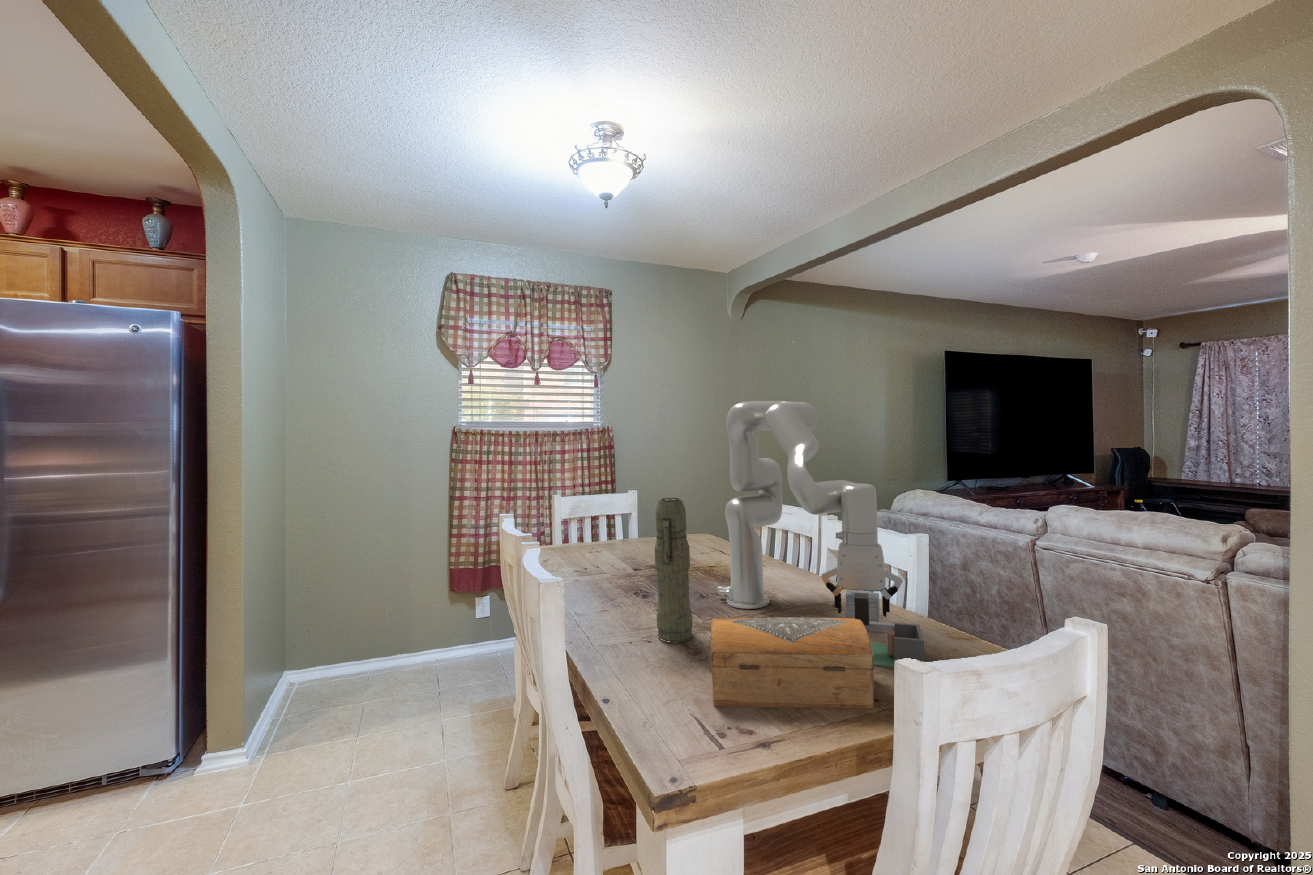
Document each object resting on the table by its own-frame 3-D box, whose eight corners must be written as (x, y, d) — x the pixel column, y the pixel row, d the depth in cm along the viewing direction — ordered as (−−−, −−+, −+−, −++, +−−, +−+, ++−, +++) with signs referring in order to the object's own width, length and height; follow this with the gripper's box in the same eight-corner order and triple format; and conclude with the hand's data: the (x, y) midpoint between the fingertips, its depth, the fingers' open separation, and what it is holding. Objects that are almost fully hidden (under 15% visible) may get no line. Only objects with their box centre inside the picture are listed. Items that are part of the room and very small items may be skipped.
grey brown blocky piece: (825, 649, 127) (824, 596, 126) (826, 642, 131) (825, 590, 131) (895, 656, 122) (894, 600, 121) (894, 648, 126) (893, 594, 126)
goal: (894, 665, 119) (893, 638, 119) (891, 647, 128) (890, 622, 128) (925, 668, 117) (924, 640, 117) (920, 650, 126) (919, 624, 126)
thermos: (694, 627, 145) (689, 495, 144) (690, 646, 134) (685, 502, 133) (661, 627, 147) (656, 496, 146) (654, 645, 135) (648, 502, 134)
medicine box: (880, 625, 142) (879, 592, 142) (879, 631, 138) (878, 597, 138) (848, 622, 146) (847, 589, 145) (846, 628, 142) (845, 594, 141)
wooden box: (855, 671, 118) (853, 607, 118) (876, 712, 102) (874, 637, 101) (713, 669, 122) (711, 606, 121) (712, 708, 105) (709, 635, 105)
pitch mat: (850, 663, 121) (850, 661, 121) (850, 642, 133) (850, 640, 133) (920, 670, 117) (920, 668, 117) (914, 648, 128) (914, 646, 128)
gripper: (819, 540, 125) (821, 615, 125) (902, 543, 119) (904, 622, 119) (821, 533, 132) (823, 604, 132) (900, 536, 126) (901, 610, 126)
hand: (861, 613), depth 126 cm, fingers open, 9 cm apart
